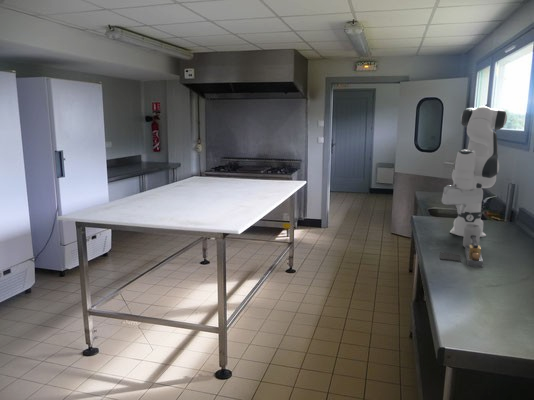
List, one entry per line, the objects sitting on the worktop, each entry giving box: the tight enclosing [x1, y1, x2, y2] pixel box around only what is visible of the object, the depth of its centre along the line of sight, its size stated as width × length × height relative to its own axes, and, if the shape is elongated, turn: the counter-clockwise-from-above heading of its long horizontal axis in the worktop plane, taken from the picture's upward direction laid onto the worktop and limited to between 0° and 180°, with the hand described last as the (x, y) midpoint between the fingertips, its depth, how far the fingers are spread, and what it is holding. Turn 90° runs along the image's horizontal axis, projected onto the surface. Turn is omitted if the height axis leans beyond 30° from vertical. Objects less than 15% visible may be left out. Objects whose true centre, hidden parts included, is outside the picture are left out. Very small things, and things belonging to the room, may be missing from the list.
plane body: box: [464, 239, 484, 269], centre depth 197 cm, size 24×6×7 cm, turn 158°
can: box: [462, 224, 481, 248], centre depth 215 cm, size 8×8×12 cm
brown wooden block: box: [469, 244, 482, 257], centre depth 195 cm, size 6×4×4 cm
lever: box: [470, 235, 478, 248], centre depth 199 cm, size 19×2×1 cm, turn 158°
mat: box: [439, 252, 462, 263], centre depth 200 cm, size 10×9×1 cm
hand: (460, 213), depth 200 cm, fingers closed
